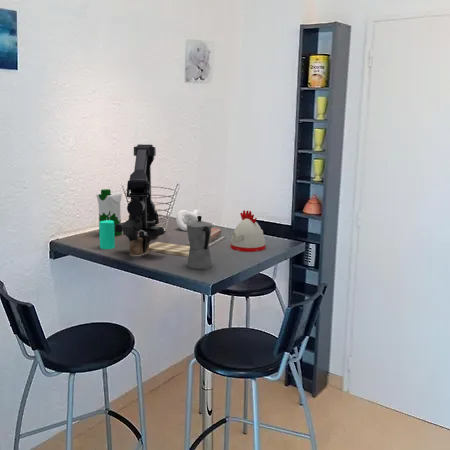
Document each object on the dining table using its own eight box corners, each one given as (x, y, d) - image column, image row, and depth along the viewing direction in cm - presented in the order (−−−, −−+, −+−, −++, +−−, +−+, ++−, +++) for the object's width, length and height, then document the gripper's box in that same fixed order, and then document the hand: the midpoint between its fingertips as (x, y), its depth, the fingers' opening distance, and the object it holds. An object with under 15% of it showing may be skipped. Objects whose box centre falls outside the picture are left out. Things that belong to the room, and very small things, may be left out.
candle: (102, 249, 217) (101, 219, 214) (97, 246, 222) (96, 216, 219) (117, 248, 219) (116, 218, 217) (112, 244, 225) (111, 215, 222)
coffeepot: (180, 262, 202) (180, 213, 198) (205, 259, 205) (205, 211, 201) (195, 273, 188) (195, 221, 184) (220, 271, 191) (221, 219, 187)
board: (143, 250, 217) (143, 247, 217) (157, 244, 226) (157, 241, 226) (188, 256, 209) (188, 253, 208) (200, 250, 217) (200, 247, 217)
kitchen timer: (247, 241, 233) (248, 206, 230) (272, 247, 224) (273, 211, 221) (223, 247, 224) (224, 210, 221) (248, 253, 214) (249, 215, 211)
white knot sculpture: (180, 233, 247) (180, 213, 245) (172, 227, 258) (172, 208, 256) (204, 231, 251) (204, 212, 249) (196, 226, 262) (196, 207, 260)
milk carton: (95, 235, 240) (94, 189, 236) (110, 231, 248) (109, 187, 243) (110, 238, 236) (109, 191, 231) (125, 234, 243) (124, 189, 239)
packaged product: (204, 226, 242) (225, 228, 238) (204, 236, 243) (225, 239, 239) (186, 234, 225) (209, 236, 222) (186, 246, 226) (209, 248, 223)
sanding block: (129, 255, 209) (129, 241, 208) (140, 251, 215) (140, 237, 214) (138, 257, 207) (138, 242, 206) (149, 252, 214) (149, 238, 212)
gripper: (105, 212, 205) (106, 253, 208) (147, 217, 197) (148, 259, 200) (123, 207, 214) (124, 246, 218) (164, 212, 207) (164, 252, 210)
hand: (139, 251), depth 211 cm, fingers closed on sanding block, 4 cm apart
